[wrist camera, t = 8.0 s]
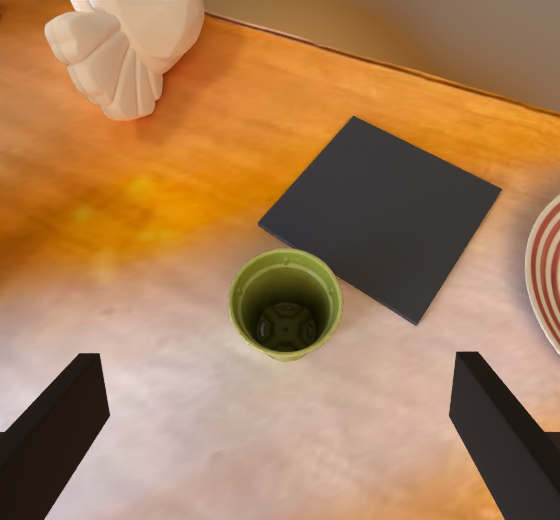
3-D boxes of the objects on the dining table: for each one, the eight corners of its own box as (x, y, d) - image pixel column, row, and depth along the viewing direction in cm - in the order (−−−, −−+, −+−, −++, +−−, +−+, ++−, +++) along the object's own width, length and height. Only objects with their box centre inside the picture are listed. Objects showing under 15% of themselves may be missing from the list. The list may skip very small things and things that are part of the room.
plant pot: (332, 287, 44) (340, 247, 36) (336, 380, 40) (346, 356, 32) (242, 287, 44) (231, 247, 37) (237, 378, 40) (223, 355, 32)
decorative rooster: (128, -46, 62) (-58, -193, 39) (222, -52, 57) (70, -227, 34) (117, 129, 67) (-56, 90, 44) (204, 139, 61) (58, 99, 38)
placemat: (416, 326, 42) (417, 324, 41) (257, 225, 48) (257, 223, 47) (500, 192, 49) (502, 188, 48) (353, 119, 55) (353, 115, 54)
